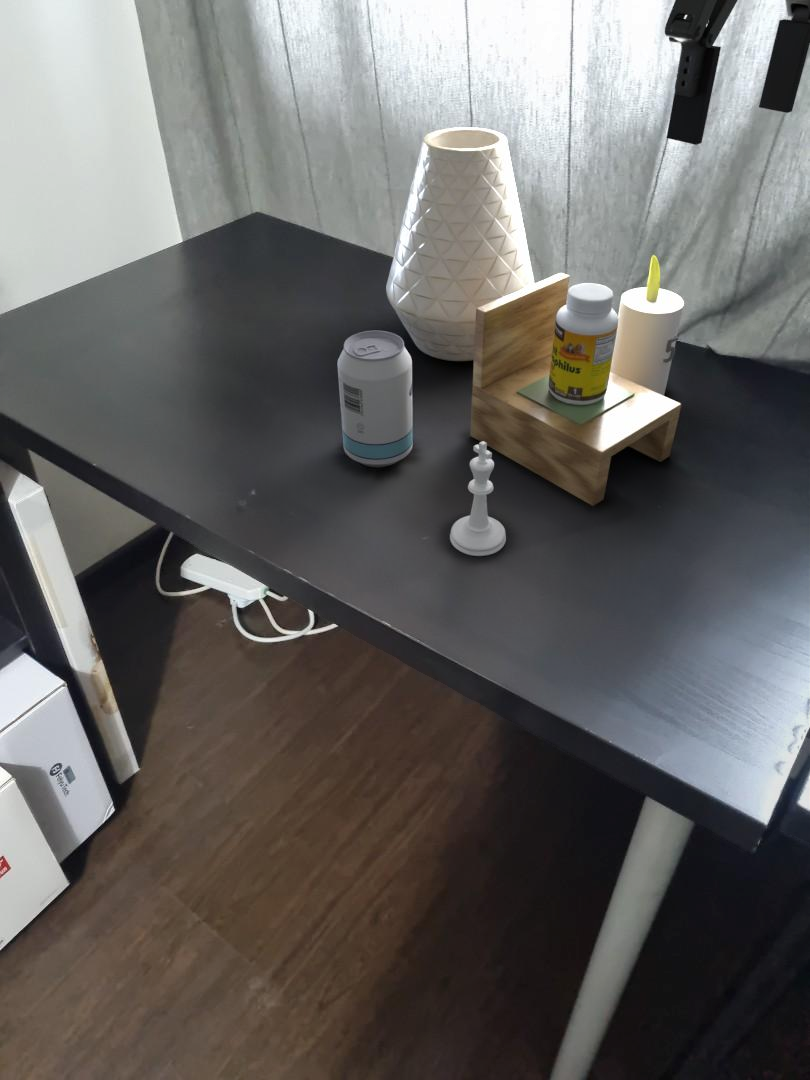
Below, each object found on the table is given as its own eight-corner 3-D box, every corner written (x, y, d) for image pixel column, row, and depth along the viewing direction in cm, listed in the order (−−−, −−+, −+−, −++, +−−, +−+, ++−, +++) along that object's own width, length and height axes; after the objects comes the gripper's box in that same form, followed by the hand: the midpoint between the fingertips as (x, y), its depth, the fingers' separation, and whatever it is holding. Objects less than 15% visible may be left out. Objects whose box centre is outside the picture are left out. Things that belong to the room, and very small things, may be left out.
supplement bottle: (535, 388, 80) (546, 287, 74) (580, 373, 82) (593, 273, 76) (573, 414, 77) (587, 310, 70) (618, 397, 79) (636, 295, 72)
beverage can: (423, 463, 82) (423, 353, 74) (357, 480, 80) (350, 368, 72) (398, 428, 86) (395, 322, 79) (335, 443, 85) (326, 335, 77)
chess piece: (478, 513, 76) (484, 419, 69) (517, 539, 73) (526, 444, 66) (438, 535, 73) (439, 441, 67) (476, 564, 70) (482, 468, 64)
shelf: (669, 455, 82) (700, 324, 73) (592, 506, 76) (615, 370, 67) (547, 395, 91) (560, 272, 82) (470, 435, 85) (475, 308, 76)
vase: (478, 298, 110) (486, 109, 95) (559, 351, 99) (583, 145, 84) (363, 329, 104) (352, 132, 89) (435, 390, 92) (437, 174, 77)
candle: (643, 411, 88) (670, 276, 79) (594, 389, 92) (615, 256, 82) (677, 391, 91) (708, 258, 82) (629, 370, 95) (652, 240, 85)
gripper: (846, -220, 63) (770, 91, 76) (647, -228, 50) (599, 145, 64) (949, -226, 58) (848, 105, 72) (759, -236, 46) (682, 166, 60)
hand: (731, 124), depth 68 cm, fingers open, 13 cm apart
